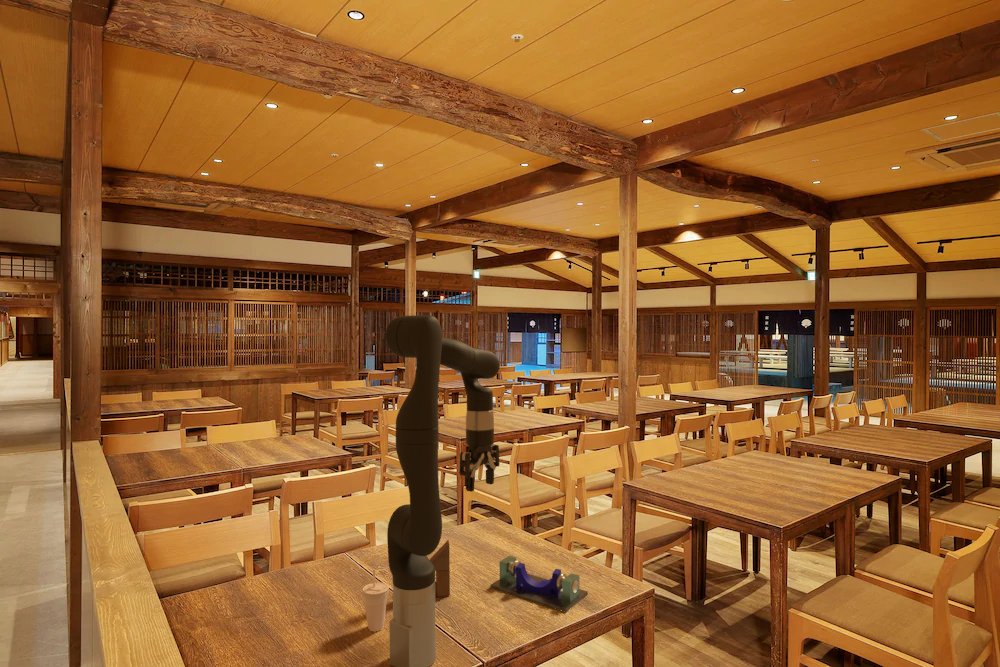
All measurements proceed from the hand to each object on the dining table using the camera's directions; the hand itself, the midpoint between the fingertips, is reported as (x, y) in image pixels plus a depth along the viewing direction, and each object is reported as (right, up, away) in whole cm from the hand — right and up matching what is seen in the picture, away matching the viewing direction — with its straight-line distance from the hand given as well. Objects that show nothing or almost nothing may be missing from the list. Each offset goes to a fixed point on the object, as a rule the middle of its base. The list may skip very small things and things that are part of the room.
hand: (480, 487), depth 150 cm
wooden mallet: (-14, -30, +3) cm, 34 cm away
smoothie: (-25, -31, -14) cm, 42 cm away
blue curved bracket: (+16, -29, +4) cm, 34 cm away
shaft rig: (+16, -30, +5) cm, 34 cm away
